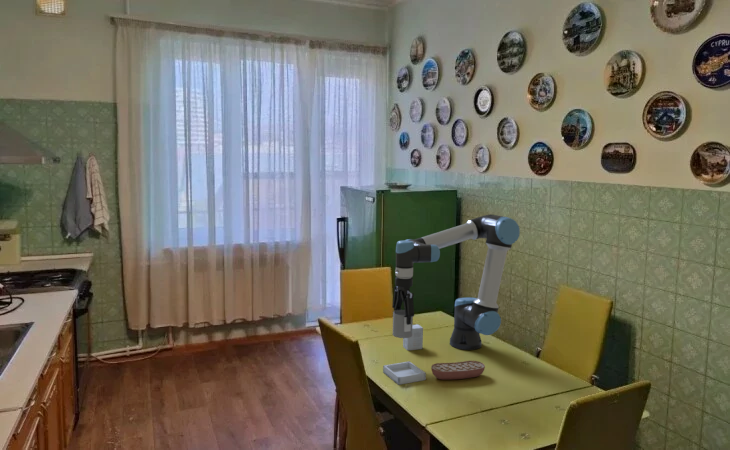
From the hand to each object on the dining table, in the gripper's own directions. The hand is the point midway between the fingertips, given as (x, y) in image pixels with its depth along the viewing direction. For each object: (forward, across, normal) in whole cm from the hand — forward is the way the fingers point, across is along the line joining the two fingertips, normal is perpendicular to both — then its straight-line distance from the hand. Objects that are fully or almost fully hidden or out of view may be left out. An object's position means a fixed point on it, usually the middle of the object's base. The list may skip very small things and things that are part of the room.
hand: (402, 328), depth 237 cm
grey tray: (+16, +12, -5) cm, 21 cm away
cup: (+3, 0, 0) cm, 3 cm away
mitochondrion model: (+17, +21, +16) cm, 31 cm away
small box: (+17, -17, +15) cm, 28 cm away
